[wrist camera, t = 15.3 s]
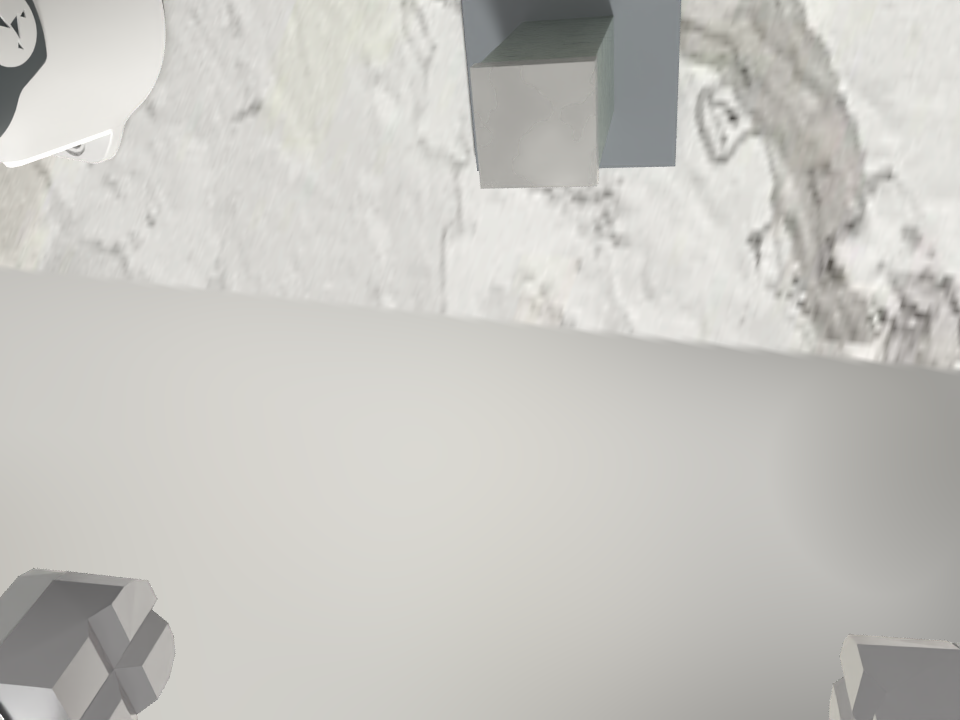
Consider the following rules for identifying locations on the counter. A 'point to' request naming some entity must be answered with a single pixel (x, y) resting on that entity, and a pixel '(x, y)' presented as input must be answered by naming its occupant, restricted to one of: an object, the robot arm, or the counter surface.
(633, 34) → the plate
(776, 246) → the counter surface
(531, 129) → the sage tea tin
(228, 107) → the counter surface
